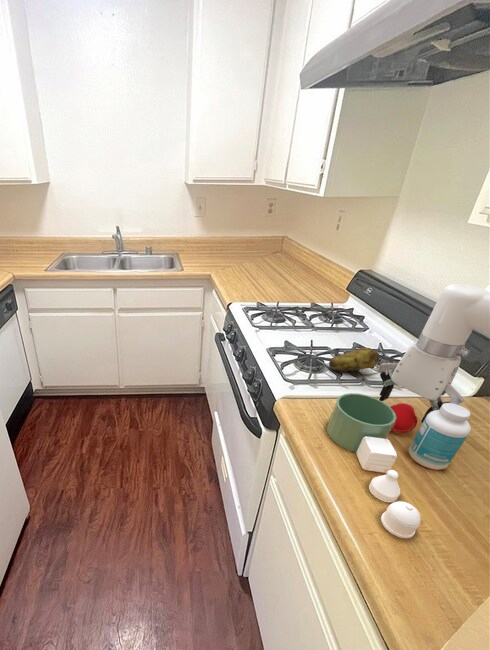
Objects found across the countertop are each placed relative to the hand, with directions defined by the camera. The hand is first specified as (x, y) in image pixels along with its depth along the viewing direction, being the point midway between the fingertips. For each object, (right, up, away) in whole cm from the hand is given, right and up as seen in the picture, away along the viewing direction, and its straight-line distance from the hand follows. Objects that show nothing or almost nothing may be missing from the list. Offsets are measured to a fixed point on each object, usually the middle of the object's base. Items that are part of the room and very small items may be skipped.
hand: (403, 409), depth 82 cm
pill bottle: (+1, -10, -6) cm, 12 cm away
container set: (-14, -15, -14) cm, 25 cm away
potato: (+1, +10, +25) cm, 27 cm away
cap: (0, -5, +3) cm, 5 cm away
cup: (-12, -6, 0) cm, 13 cm away
